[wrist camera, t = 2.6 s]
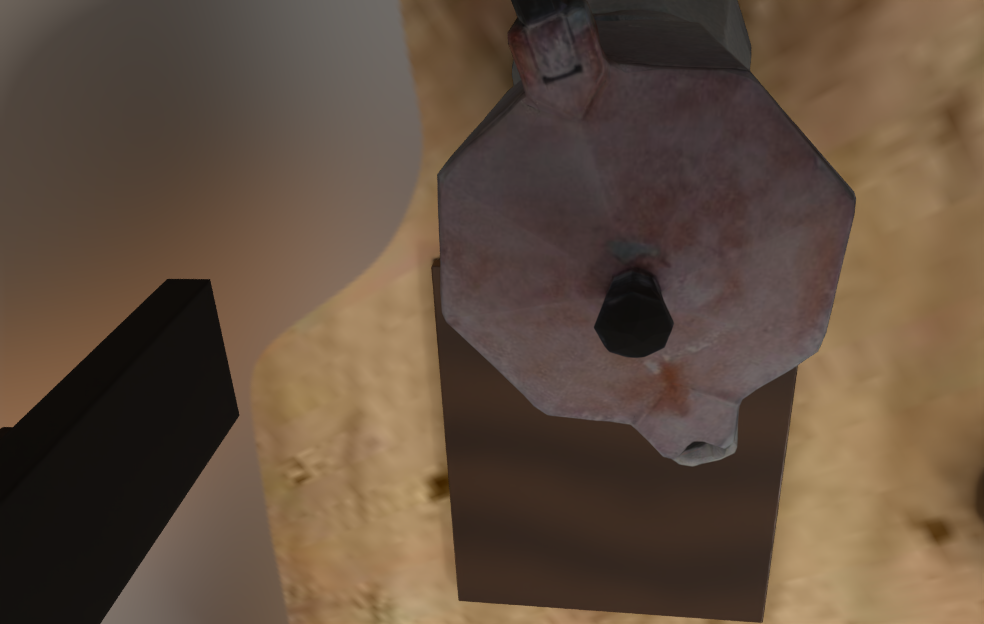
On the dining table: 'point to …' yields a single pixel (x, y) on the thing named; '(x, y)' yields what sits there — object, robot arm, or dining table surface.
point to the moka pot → (640, 223)
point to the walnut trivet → (604, 502)
